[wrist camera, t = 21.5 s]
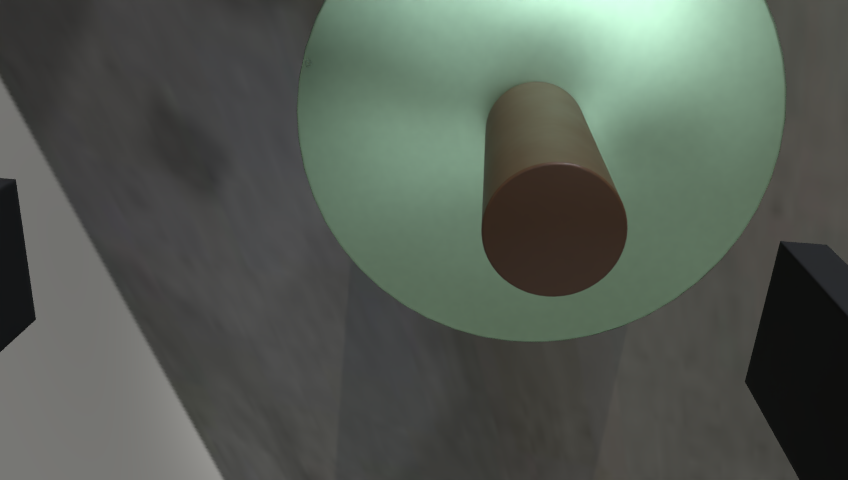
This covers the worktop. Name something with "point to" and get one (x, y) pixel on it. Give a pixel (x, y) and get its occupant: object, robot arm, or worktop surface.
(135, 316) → the worktop surface
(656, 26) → the tin lid
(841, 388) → the robot arm
